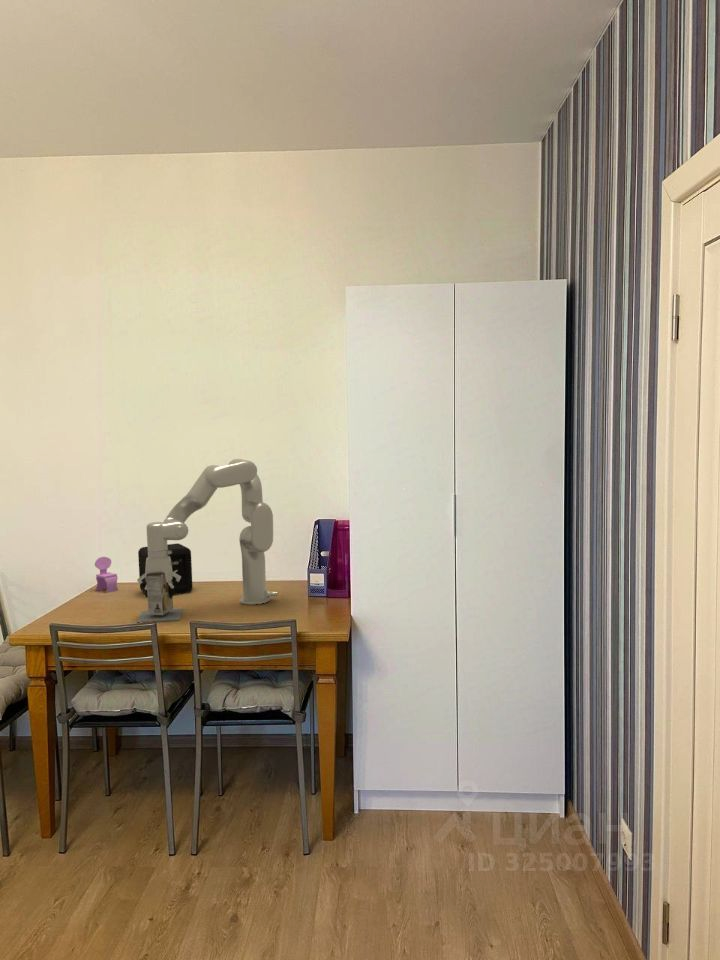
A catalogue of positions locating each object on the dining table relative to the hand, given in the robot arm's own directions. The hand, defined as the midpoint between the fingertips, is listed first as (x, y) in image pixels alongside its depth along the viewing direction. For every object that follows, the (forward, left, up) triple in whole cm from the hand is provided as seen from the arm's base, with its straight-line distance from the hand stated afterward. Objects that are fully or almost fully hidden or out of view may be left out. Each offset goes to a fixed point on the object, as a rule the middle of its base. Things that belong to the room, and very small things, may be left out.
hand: (160, 598), depth 310 cm
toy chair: (+28, -50, -8) cm, 58 cm away
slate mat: (0, 0, -7) cm, 7 cm away
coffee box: (0, 0, -6) cm, 6 cm away
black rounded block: (+1, -40, -8) cm, 41 cm away
